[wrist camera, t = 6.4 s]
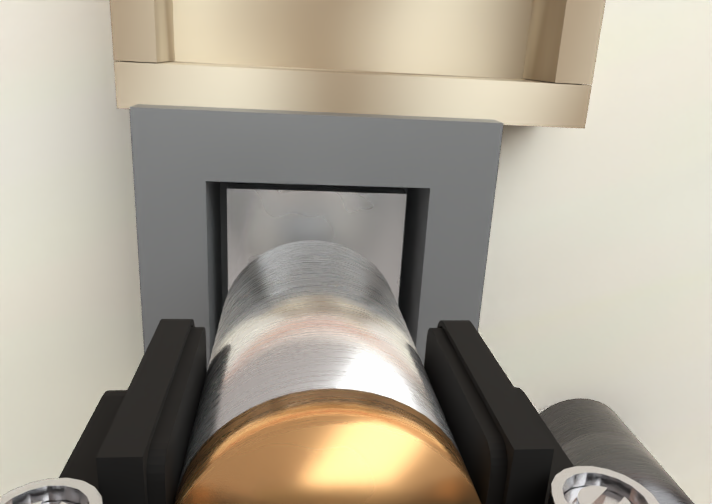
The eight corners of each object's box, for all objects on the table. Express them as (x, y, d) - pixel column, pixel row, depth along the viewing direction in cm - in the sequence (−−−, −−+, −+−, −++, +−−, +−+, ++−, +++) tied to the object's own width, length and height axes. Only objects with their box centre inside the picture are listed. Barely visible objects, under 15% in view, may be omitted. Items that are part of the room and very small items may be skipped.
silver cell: (403, 242, 14) (509, 423, 7) (391, 399, 15) (471, 678, 8) (220, 238, 13) (152, 427, 7) (222, 401, 15) (168, 696, 8)
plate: (401, 187, 18) (406, 193, 17) (390, 340, 19) (394, 352, 18) (229, 182, 17) (226, 188, 16) (231, 339, 19) (228, 352, 18)
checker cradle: (464, 108, 19) (503, 123, 15) (437, 370, 22) (465, 433, 18) (162, 95, 18) (129, 107, 14) (174, 370, 21) (149, 437, 17)
